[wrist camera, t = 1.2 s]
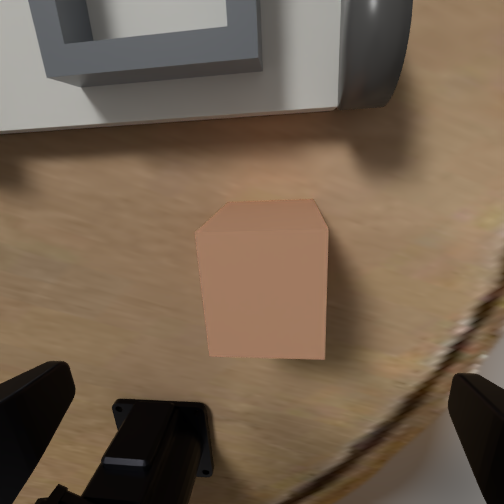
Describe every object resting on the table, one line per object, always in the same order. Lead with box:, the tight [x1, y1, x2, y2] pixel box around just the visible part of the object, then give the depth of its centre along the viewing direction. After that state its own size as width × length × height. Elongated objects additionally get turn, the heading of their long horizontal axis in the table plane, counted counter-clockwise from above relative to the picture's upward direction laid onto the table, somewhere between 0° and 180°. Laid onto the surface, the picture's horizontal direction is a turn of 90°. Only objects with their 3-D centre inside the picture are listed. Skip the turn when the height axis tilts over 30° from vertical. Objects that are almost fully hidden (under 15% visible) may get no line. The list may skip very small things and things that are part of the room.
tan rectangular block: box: [195, 199, 329, 360], centre depth 14 cm, size 5×4×6 cm
